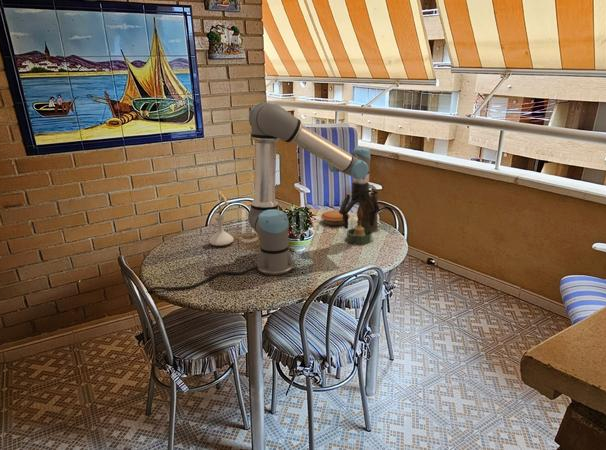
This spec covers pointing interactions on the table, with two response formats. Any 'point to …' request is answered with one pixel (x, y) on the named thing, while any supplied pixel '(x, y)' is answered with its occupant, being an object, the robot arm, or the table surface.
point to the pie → (333, 218)
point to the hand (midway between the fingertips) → (358, 226)
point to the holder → (359, 237)
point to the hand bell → (359, 224)
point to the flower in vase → (221, 228)
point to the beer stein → (368, 214)
